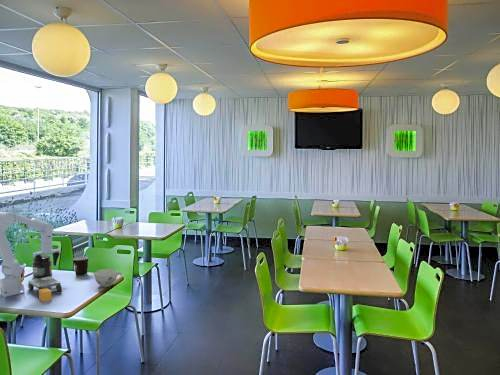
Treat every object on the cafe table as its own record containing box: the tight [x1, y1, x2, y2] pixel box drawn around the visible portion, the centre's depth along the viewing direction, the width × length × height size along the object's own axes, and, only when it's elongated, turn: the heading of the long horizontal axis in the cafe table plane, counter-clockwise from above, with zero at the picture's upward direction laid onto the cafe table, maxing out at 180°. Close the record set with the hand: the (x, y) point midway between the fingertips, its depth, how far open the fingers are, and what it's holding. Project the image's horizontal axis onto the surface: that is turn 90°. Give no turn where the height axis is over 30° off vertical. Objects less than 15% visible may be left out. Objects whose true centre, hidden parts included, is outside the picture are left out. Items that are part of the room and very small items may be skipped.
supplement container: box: [31, 254, 53, 279], centre depth 259 cm, size 10×10×12 cm
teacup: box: [93, 268, 123, 288], centre depth 240 cm, size 15×12×8 cm
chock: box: [38, 287, 53, 303], centre depth 218 cm, size 4×6×5 cm, turn 44°
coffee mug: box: [72, 256, 89, 277], centre depth 262 cm, size 12×9×10 cm
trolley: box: [27, 276, 63, 296], centre depth 231 cm, size 11×20×5 cm, turn 44°
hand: (47, 266), depth 246 cm, fingers open, 7 cm apart
